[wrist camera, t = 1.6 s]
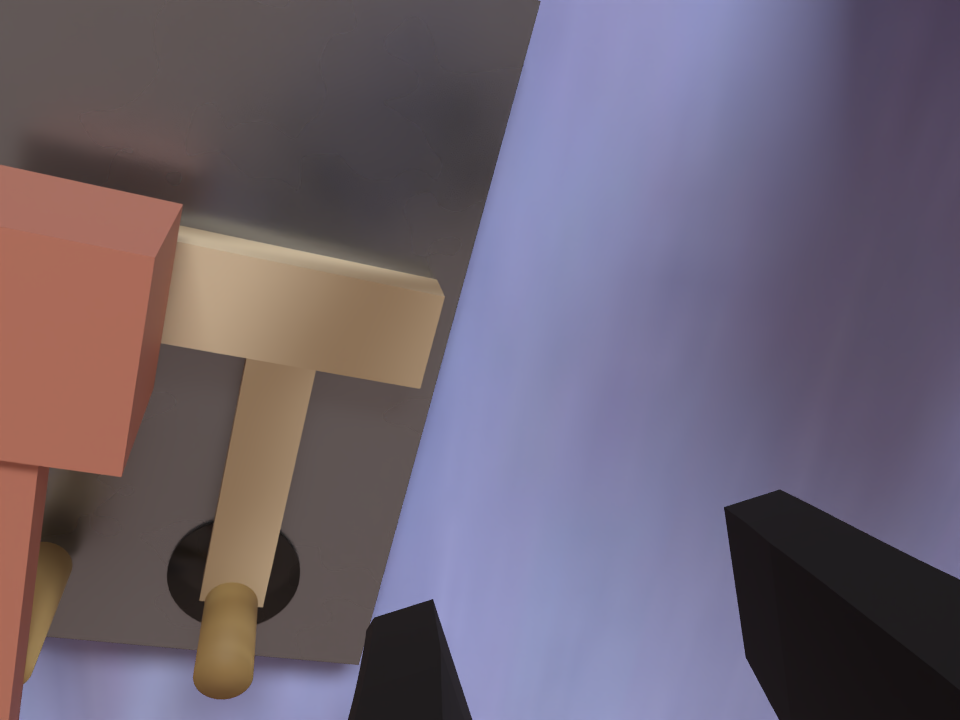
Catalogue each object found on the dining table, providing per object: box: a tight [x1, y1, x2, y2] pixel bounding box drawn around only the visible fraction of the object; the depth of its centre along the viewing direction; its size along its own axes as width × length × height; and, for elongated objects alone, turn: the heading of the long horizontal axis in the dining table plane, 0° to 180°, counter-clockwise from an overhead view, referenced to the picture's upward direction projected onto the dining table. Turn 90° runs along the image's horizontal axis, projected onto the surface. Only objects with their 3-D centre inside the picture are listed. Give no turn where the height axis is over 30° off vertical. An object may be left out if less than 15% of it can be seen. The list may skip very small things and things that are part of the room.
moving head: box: [0, 165, 183, 720], centre depth 14 cm, size 3×9×4 cm, turn 165°
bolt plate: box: [0, 0, 541, 665], centre depth 16 cm, size 15×14×1 cm
